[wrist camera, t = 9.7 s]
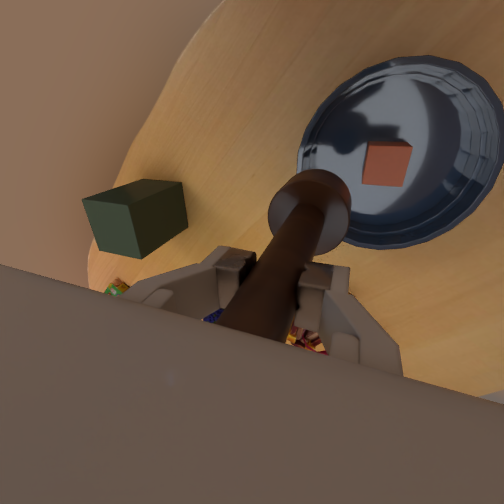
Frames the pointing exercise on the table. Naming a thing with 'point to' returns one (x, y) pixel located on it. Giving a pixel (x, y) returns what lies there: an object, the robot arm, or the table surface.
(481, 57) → the table surface
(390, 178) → the terracotta block
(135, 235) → the stand
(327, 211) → the masher with cylindrical head
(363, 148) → the bowl
